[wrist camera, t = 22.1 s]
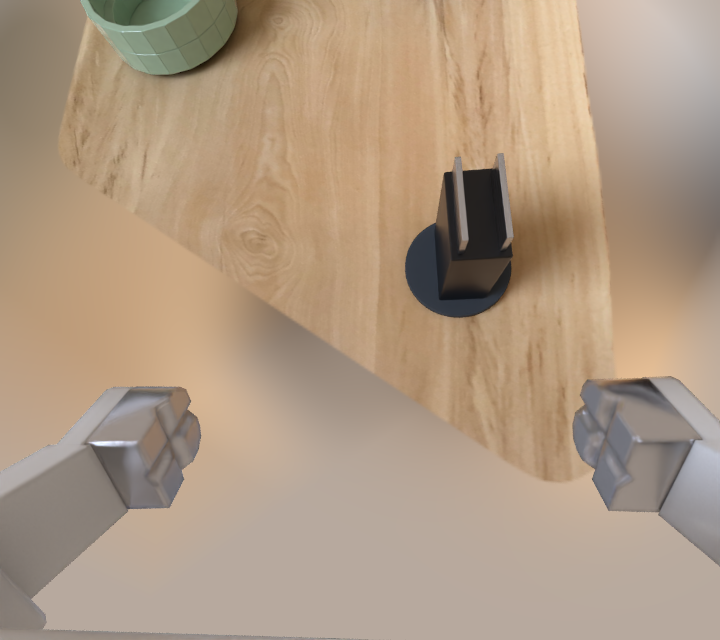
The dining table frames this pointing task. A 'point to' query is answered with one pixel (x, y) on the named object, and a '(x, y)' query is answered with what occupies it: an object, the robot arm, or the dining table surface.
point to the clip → (472, 231)
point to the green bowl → (164, 31)
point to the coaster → (426, 281)
